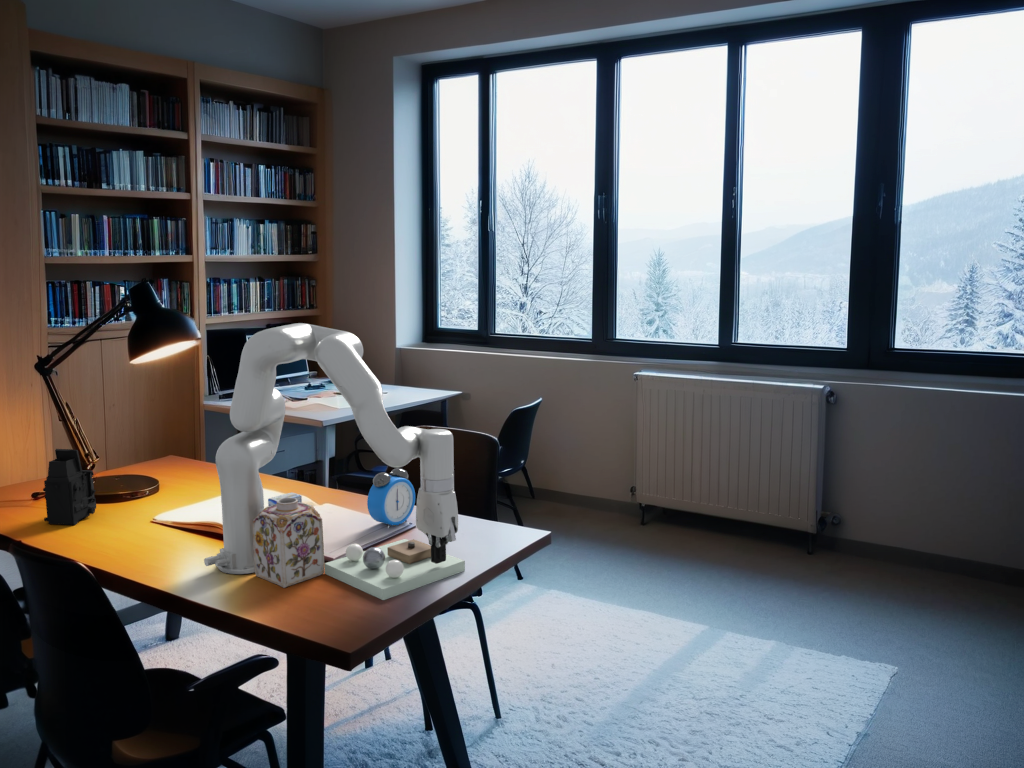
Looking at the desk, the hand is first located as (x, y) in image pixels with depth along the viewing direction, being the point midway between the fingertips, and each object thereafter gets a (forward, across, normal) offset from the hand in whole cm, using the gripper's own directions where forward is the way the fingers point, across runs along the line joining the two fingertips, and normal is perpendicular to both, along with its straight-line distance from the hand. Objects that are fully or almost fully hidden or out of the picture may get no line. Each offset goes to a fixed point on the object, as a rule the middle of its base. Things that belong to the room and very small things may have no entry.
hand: (438, 561), depth 197 cm
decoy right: (-1, -2, -11) cm, 11 cm away
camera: (+3, -106, -42) cm, 114 cm away
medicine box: (+4, -57, -5) cm, 57 cm away
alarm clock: (+4, -39, +17) cm, 42 cm away
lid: (+1, -10, 0) cm, 10 cm away
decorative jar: (+4, -26, -23) cm, 35 cm away
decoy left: (-1, -17, -11) cm, 20 cm away
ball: (-1, -10, -11) cm, 15 cm away
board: (+4, -10, -5) cm, 11 cm away
